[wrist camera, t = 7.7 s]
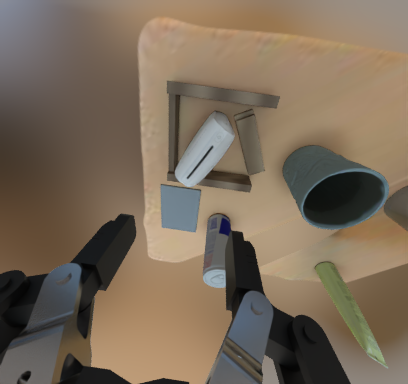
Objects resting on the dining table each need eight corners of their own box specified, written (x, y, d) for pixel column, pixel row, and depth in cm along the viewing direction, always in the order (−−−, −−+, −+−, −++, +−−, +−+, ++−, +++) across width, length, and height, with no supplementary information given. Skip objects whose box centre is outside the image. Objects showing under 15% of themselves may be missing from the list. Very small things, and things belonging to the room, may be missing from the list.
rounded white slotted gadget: (215, 105, 28) (212, 114, 17) (234, 121, 29) (242, 139, 18) (183, 152, 33) (165, 181, 22) (200, 164, 34) (191, 198, 23)
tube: (310, 271, 48) (356, 365, 32) (315, 260, 46) (369, 356, 29) (330, 272, 48) (388, 368, 31) (337, 261, 45) (404, 360, 29)
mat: (200, 189, 37) (200, 190, 36) (195, 231, 44) (195, 232, 43) (161, 184, 37) (160, 185, 37) (162, 226, 44) (161, 227, 43)
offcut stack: (251, 108, 28) (254, 110, 25) (262, 166, 33) (265, 172, 31) (233, 115, 29) (235, 117, 26) (247, 170, 34) (249, 177, 31)
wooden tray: (272, 95, 26) (280, 96, 23) (246, 182, 35) (249, 192, 31) (173, 81, 26) (167, 80, 23) (172, 171, 35) (167, 180, 32)
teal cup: (342, 170, 32) (399, 207, 22) (292, 197, 36) (320, 240, 26) (318, 129, 28) (374, 150, 18) (266, 165, 32) (288, 199, 22)
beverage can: (209, 230, 43) (205, 289, 30) (205, 214, 40) (199, 271, 28) (231, 228, 42) (235, 288, 30) (228, 211, 39) (232, 269, 27)
